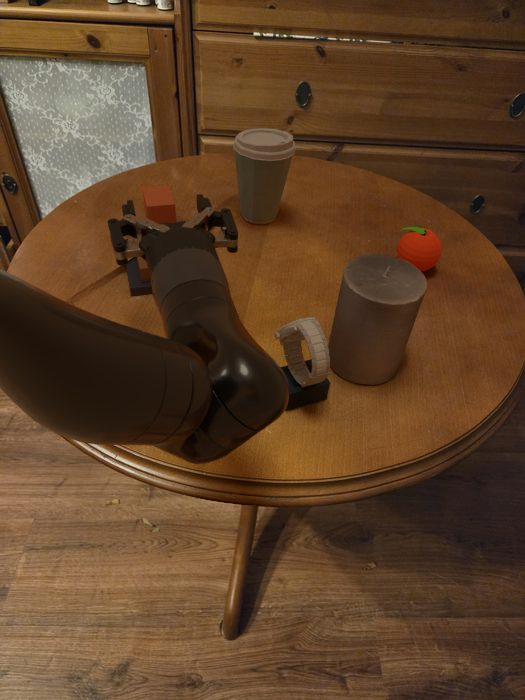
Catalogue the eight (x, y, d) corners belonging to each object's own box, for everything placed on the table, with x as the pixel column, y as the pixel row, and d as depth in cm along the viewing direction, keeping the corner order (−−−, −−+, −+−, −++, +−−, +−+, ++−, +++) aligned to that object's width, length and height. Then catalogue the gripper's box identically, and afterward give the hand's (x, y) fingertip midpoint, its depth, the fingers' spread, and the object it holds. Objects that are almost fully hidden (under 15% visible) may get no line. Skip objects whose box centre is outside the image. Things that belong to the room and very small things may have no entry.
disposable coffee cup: (219, 212, 92) (219, 130, 82) (263, 196, 98) (268, 117, 87) (256, 237, 87) (261, 152, 76) (300, 218, 92) (310, 137, 82)
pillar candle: (357, 326, 71) (380, 234, 61) (413, 364, 66) (448, 272, 56) (310, 355, 67) (326, 262, 56) (366, 399, 62) (395, 305, 51)
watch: (304, 364, 65) (315, 299, 58) (333, 410, 60) (349, 344, 52) (265, 375, 64) (271, 309, 56) (291, 422, 58) (301, 357, 51)
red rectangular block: (179, 262, 78) (175, 204, 71) (153, 265, 77) (146, 206, 70) (173, 242, 82) (168, 184, 75) (149, 244, 81) (142, 187, 74)
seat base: (210, 285, 76) (210, 264, 73) (131, 296, 73) (127, 274, 71) (191, 231, 87) (190, 211, 84) (121, 238, 84) (118, 217, 81)
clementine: (379, 267, 82) (389, 229, 77) (397, 249, 87) (407, 212, 82) (424, 285, 79) (438, 247, 74) (440, 266, 83) (454, 229, 78)
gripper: (257, 242, 50) (221, 170, 61) (111, 258, 47) (100, 179, 57) (253, 300, 55) (221, 225, 66) (122, 318, 52) (111, 236, 63)
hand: (165, 204), depth 62 cm, fingers open, 8 cm apart
